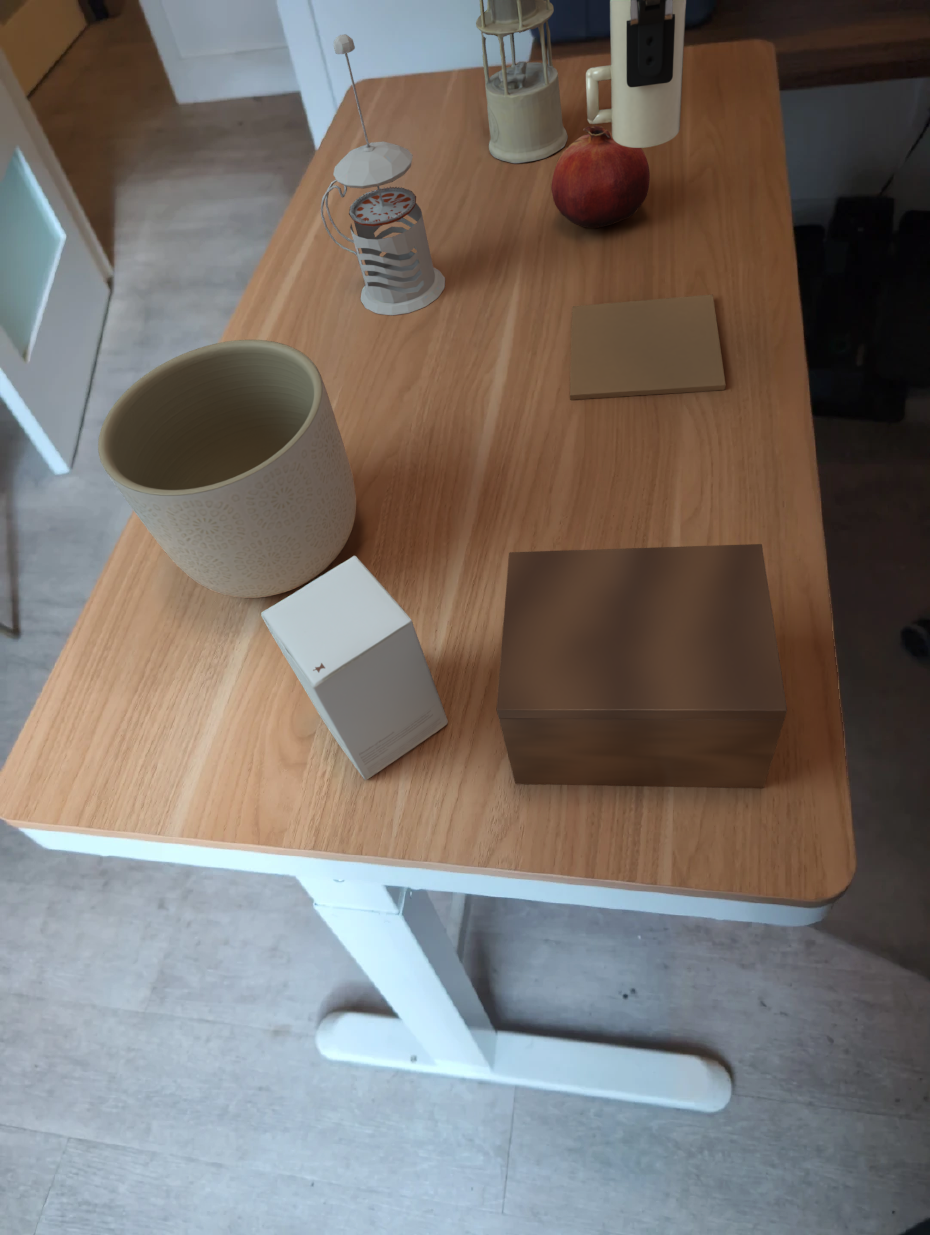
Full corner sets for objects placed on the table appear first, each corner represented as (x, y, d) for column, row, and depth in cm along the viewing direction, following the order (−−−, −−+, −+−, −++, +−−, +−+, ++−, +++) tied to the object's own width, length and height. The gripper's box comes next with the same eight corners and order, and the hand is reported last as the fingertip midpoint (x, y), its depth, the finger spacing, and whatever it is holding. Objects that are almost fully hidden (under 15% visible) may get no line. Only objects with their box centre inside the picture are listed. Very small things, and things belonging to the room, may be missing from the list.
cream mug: (678, 112, 66) (684, -41, 58) (682, 143, 63) (689, -14, 55) (588, 123, 67) (582, -26, 59) (587, 154, 64) (582, 2, 56)
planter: (332, 639, 66) (266, 506, 54) (151, 611, 71) (52, 484, 59) (399, 485, 75) (355, 342, 63) (234, 470, 80) (164, 334, 68)
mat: (712, 299, 84) (713, 294, 83) (725, 390, 76) (725, 384, 75) (572, 311, 86) (572, 306, 86) (570, 400, 78) (569, 395, 78)
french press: (434, 314, 90) (379, 54, 70) (334, 316, 93) (254, 66, 73) (453, 262, 95) (407, 7, 75) (358, 266, 98) (289, 20, 78)
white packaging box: (452, 724, 60) (416, 621, 50) (364, 784, 58) (308, 690, 48) (399, 658, 64) (356, 551, 54) (316, 712, 62) (255, 611, 52)
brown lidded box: (744, 634, 60) (761, 543, 52) (763, 788, 53) (787, 710, 45) (523, 637, 63) (508, 551, 55) (515, 783, 56) (496, 710, 48)
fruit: (547, 245, 94) (540, 155, 86) (562, 199, 100) (556, 109, 92) (643, 244, 91) (644, 150, 83) (653, 196, 97) (655, 103, 89)
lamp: (477, 163, 108) (435, -138, 85) (511, 115, 115) (480, -176, 91) (553, 164, 105) (531, -148, 81) (583, 115, 111) (571, -187, 88)
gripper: (738, -279, 41) (709, 112, 56) (710, -332, 51) (692, 12, 66) (585, -249, 43) (596, 126, 57) (587, -305, 52) (596, 26, 67)
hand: (647, 62), depth 61 cm, fingers closed on cream mug, 5 cm apart
